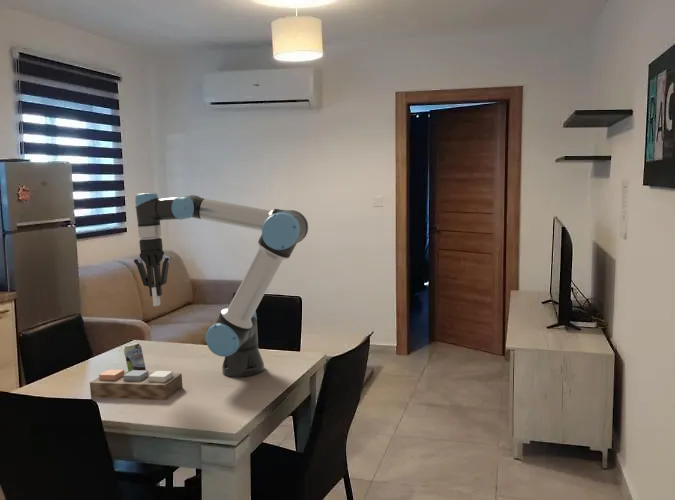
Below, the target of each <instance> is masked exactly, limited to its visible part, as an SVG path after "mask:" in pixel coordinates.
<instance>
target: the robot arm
mask: <svg viewBox="0 0 675 500" xmlns="http://www.w3.org/2000/svg"><path fill="white" fill-rule="evenodd" d="M134 198H135V199H134V201H135V211H136V220H137V232H138V234H137V235H138V238H139V241H138V242H139V250H140V253H139V256H138V257H137V258H135V259H133V262H134V264H135V266H137V270H138V273H139V276H140V278H141V279H140V280H141V282H142V284H143V286H145V287H148V289H149V295H150V296H149V297H152V306H153V307H158V306H161V296H162V295H163V289H162V286H163V285H165V284H167V281H168V272H169V267H170V262H171V260H172V257H171V256H167V255H166V254H165V252H164V250H163V248H164V247H163V239H162V229H161V228H162V227H161V221H168V220H169V221H170V220H172V221H173V220H181V221H182V220H187V219H191V218H193V219H198V220H206V221H212V222H215V223H221V224H226V225H230V226H235V227H236V226H237V227H240V228H241V227H242V228H246V229H249V230H250V229H251V230H256V231H261V235H260V237H259V239H258V241H257V243H258V247H259V249H258V251H257V252H256V254H255V256H254V259H253V260H252V261H251V264H250V266H249V268H248V270H247V271H246V273H245V275H244V276H243V280H241V283H240V285H239V286H238V289H237V291H236V292H235V295H234V296H233V297H232V300H231V302H230V303H229V305H228V307H226V308H222V310H221V311H220V313H219V315H218V316H217V318H216V321H215V323H213V324H212V325H211V326H210V327H208V330H207V331H206V334H205V343H206V345H207V348H208V349H209V351H211V352H212V353H213V354H214V355H216V356H219V357H224V358H223V362H222V366H221V369H222V374H223V375H225V376H227V377H233V378H239V377H240V378H241V377H242V378H243V377H251V376H255V375H259V374H261V373H263V371H264V370H265V364H264V360H263V357H262V355H261V353H260V350H259V337H258V317H257V311H256V310H257V309H258V308H259V305H260V303H261V302H262V299H263V297H264V295H265V294H266V293H267V291H268V288H269V287H270V284H271V282H272V281H273V279H274V277H275V275H276V273H277V271H278V269H279V268H280V266H281V264H282V262H283V261H284V260H286V259H287V260H288V259H289V258H291V255H292V254H293V251H294V250H295V248H296V246H297V244H299V243H300V242H302V241H303V240H304V239H305V238H306V237H307V235H308V232H309V224H308V223H309V222H308V220H307V218H306V217H305V215H304V214H303V213H301V212H299V211H297V210H293V209H292V210H290V209H279V208H273V209H271V210H269V209H263V208H258V207H253V206H246V205H242V204H237V203H231V202H226V201H220V200H215V199H210V198H203V197H201V196H199V195H194V194H192V195H184V196H175V197H174V196H172V197H163V198H162V197H159V196H158V193H156V192H149V193H148V192H147V193H137V194H136V195H135V197H134ZM143 262H144V263H143ZM161 262H162V268H161ZM144 264H145V265H144Z"/></svg>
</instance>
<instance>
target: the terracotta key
mask: <svg viewBox="0 0 675 500" xmlns="http://www.w3.org/2000/svg"><path fill="white" fill-rule="evenodd" d="M124 372H125V369H107V370H105V371H103V372H101V373H100V374H98V378H99V380H117V379H119V378H121V377H122V376H123V375H124Z"/></svg>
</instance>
